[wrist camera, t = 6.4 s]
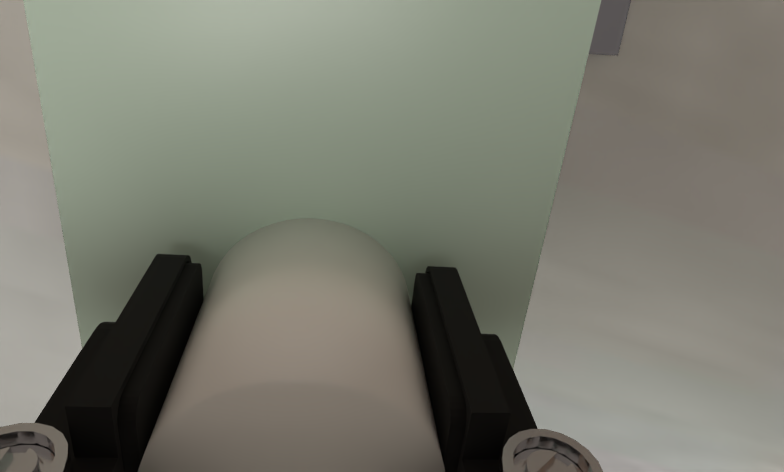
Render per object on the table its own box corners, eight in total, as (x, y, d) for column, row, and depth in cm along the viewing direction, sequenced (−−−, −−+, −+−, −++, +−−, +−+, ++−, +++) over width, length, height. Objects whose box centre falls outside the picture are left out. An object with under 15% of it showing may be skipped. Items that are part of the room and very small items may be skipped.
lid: (596, -87, 10) (862, -127, 5) (462, 516, 16) (516, 762, 11) (29, -158, 9) (-378, -302, 4) (130, 519, 15) (30, 791, 10)
